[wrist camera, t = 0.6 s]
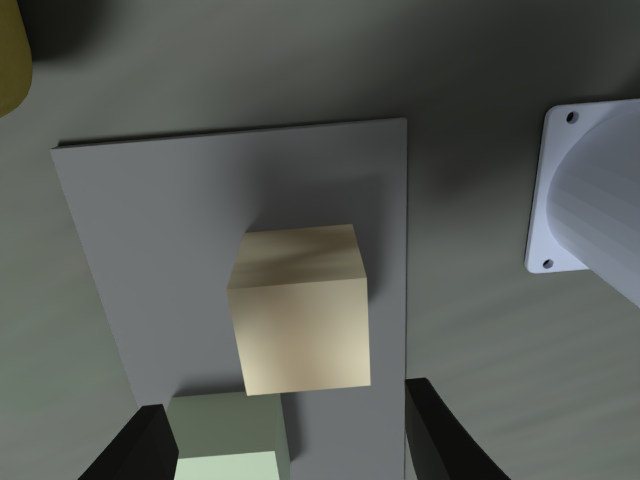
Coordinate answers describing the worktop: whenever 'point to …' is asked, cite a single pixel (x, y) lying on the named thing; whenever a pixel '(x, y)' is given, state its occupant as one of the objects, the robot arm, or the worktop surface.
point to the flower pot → (13, 58)
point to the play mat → (219, 258)
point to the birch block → (300, 310)
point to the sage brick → (229, 437)
